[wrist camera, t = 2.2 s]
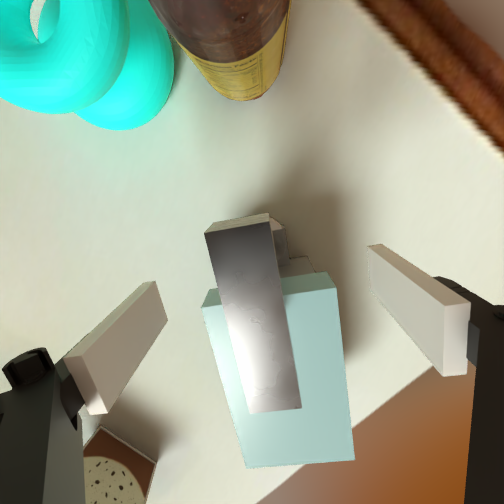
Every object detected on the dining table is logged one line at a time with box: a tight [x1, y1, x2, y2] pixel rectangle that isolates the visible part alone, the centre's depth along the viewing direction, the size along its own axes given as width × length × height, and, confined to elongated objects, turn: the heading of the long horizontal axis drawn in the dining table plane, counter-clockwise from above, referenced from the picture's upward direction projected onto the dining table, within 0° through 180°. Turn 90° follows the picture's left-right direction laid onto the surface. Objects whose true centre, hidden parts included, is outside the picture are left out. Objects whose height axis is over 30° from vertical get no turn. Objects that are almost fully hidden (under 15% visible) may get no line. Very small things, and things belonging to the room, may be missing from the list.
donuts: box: [0, 0, 174, 130], centre depth 17 cm, size 10×10×10 cm
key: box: [204, 212, 302, 414], centre depth 17 cm, size 9×2×13 cm, turn 11°
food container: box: [83, 425, 157, 504], centre depth 31 cm, size 12×6×10 cm, turn 46°
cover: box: [201, 271, 355, 469], centre depth 22 cm, size 17×10×3 cm, turn 11°
